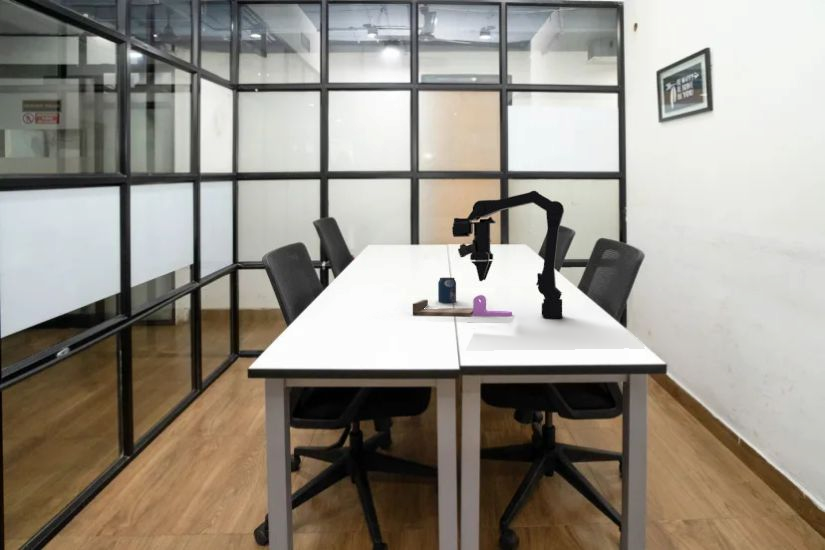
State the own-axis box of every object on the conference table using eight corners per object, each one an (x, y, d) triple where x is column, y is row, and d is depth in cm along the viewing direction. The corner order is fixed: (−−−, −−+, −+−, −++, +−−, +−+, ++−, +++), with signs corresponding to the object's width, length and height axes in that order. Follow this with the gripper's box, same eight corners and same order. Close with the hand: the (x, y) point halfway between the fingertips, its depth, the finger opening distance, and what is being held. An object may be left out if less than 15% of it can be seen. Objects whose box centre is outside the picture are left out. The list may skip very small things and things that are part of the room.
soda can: (455, 309, 222) (455, 278, 221) (437, 309, 223) (437, 278, 222) (456, 307, 229) (456, 277, 228) (439, 307, 230) (439, 277, 229)
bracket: (473, 316, 200) (473, 295, 200) (475, 314, 206) (475, 294, 206) (511, 316, 197) (511, 296, 197) (512, 315, 203) (512, 295, 202)
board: (476, 311, 215) (476, 300, 215) (469, 316, 197) (469, 304, 197) (423, 310, 220) (423, 299, 220) (412, 315, 202) (412, 303, 202)
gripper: (463, 237, 216) (463, 279, 217) (455, 236, 198) (455, 281, 199) (493, 237, 214) (493, 279, 214) (488, 235, 196) (488, 281, 196)
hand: (482, 280), depth 206 cm, fingers open, 9 cm apart
